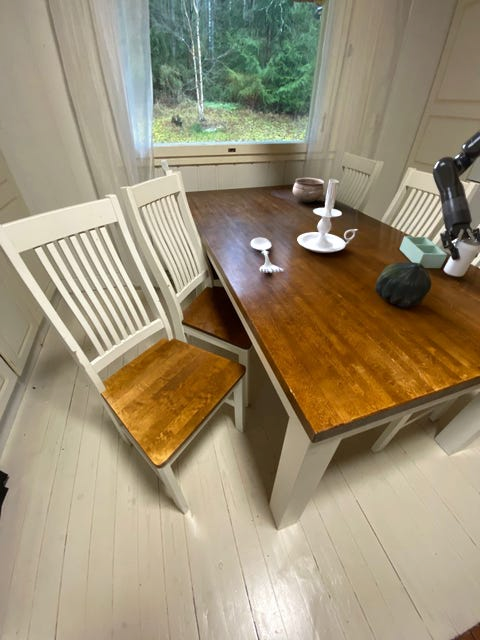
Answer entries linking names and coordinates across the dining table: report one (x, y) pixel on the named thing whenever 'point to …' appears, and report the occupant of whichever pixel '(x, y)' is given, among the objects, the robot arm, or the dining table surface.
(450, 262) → the can
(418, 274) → the squash
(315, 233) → the candlestick
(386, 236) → the dining table surface
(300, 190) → the cooking pot
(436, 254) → the divided box
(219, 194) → the dining table surface
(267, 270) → the spoon
